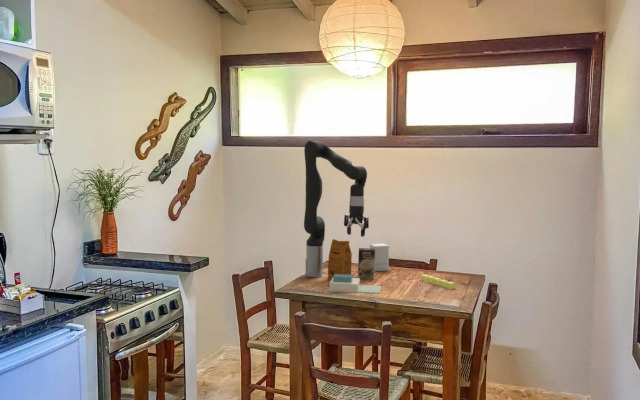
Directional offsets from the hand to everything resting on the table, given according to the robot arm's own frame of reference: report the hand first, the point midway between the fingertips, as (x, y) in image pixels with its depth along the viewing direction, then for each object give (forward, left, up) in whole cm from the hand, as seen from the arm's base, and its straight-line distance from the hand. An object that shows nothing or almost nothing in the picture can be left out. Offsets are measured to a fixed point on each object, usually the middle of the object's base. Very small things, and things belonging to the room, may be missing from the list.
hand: (355, 235), depth 273 cm
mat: (+8, -11, -26) cm, 29 cm away
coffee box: (+5, +15, -26) cm, 30 cm away
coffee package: (-9, +7, -26) cm, 28 cm away
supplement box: (+11, +38, -26) cm, 47 cm away
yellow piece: (+44, +9, -26) cm, 52 cm away
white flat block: (-4, -11, -26) cm, 28 cm away
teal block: (-5, -11, -22) cm, 25 cm away
